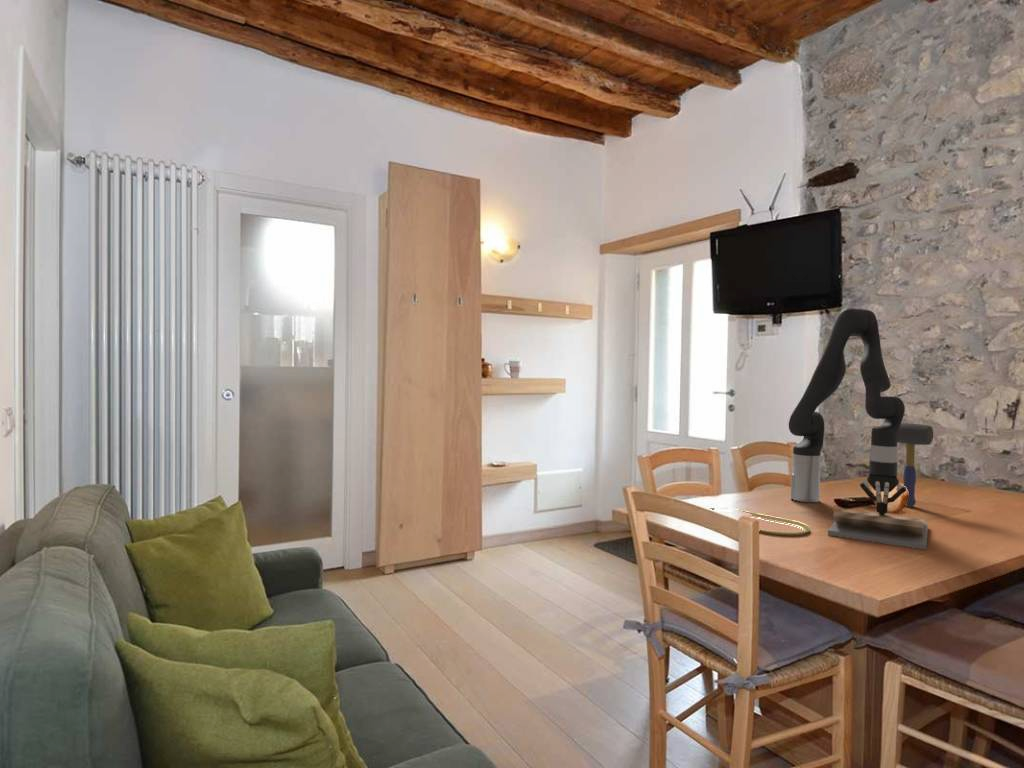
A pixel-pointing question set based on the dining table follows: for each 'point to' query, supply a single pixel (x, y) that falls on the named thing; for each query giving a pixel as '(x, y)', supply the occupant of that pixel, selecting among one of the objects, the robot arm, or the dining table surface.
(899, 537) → the panel
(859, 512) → the far plank
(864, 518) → the near plank
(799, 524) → the serving platter
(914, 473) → the rubber mallet
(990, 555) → the dining table surface
